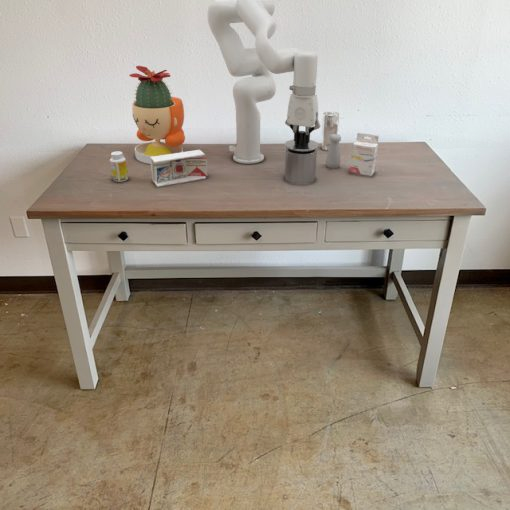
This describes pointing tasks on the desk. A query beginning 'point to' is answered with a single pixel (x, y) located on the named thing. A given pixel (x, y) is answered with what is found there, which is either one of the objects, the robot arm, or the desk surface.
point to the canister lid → (301, 143)
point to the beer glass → (329, 127)
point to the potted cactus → (157, 116)
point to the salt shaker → (334, 152)
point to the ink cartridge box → (364, 154)
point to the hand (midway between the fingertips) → (301, 143)
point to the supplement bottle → (118, 167)
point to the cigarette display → (178, 167)
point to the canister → (300, 166)
